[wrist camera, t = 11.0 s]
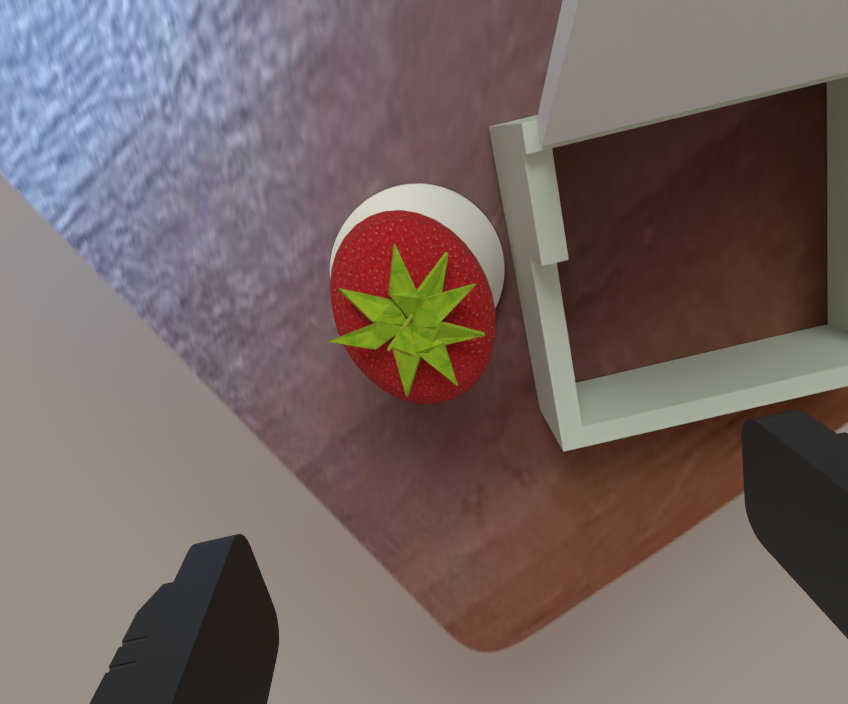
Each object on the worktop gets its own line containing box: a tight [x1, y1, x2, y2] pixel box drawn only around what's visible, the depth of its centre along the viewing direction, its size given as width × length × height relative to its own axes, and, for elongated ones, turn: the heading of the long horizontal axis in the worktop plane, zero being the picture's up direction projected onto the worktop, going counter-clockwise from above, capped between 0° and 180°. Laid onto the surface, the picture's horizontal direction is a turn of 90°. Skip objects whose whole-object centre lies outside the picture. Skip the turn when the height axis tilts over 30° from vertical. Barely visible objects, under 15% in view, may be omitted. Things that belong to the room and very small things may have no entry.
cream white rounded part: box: [330, 183, 505, 308], centre depth 28 cm, size 8×8×1 cm
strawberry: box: [328, 210, 496, 404], centre depth 23 cm, size 6×8×10 cm
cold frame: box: [489, 0, 848, 452], centre depth 20 cm, size 20×16×18 cm
